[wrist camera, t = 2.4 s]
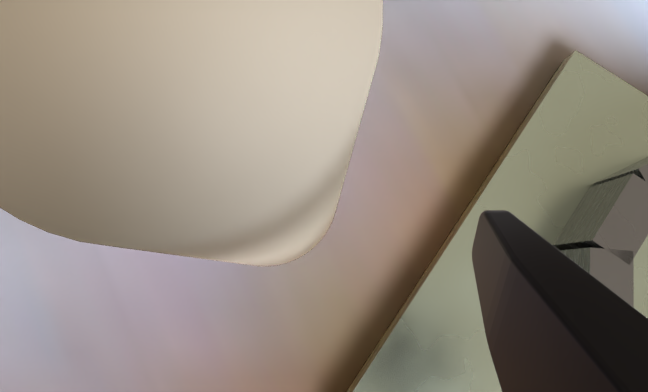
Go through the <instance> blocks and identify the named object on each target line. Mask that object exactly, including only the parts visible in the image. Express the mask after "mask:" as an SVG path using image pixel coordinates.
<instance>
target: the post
mask: <svg viewBox="0 0 648 392" xmlns="http://www.w3.org/2000/svg"><path fill="white" fill-rule="evenodd" d="M382 30H383V0H0V208H2V209H3V210H5V211H6V212H8V213H10V214H11V215H13V216H14V217H16V218H18V219H19V220H22V221H24V222H26V223H28V224H31V225H33V226H35V227H37V228H40V229H42V230H44V231H46V232H49V233H52V234H55V235H59V236H62V237H66V238H69V239H73V240H76V241H80V242H86V243H93V244H99V245H106V246H113V247H120V248H128V249H135V250H142V251H150V252H157V253H164V254H172V255H179V256H187V257H194V258H201V259H209V260H216V261H223V262H231V263H238V264H246V265H253V266H276V265H281V264H285V263H288V262H291V261H293V260H296V259H298V258H299V257H301V256H303V255H305V254H306V253H307V252H309V251H310V250H312V249H313V248H314V247H315V246H316V245H317V244H318V243H319V242H320V241H321V239H322V238H323V237H324V236H325V234H326V232H327V231H328V229H329V227H330V225H331V223H332V221H333V219H334V215H335V212H336V208H337V205H338V201H339V198H340V194H341V190H342V187H343V183H344V180H345V176H346V172H347V169H348V165H349V162H350V158H351V155H352V151H353V147H354V144H355V140H356V137H357V133H358V129H359V126H360V122H361V119H362V115H363V112H364V108H365V104H366V101H367V97H368V94H369V90H370V87H371V83H372V79H373V76H374V72H375V69H376V65H377V61H378V58H379V51H380V44H381V37H382Z"/></svg>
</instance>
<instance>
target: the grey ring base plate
mask: <svg viewBox="0 0 648 392" xmlns="http://www.w3.org/2000/svg"><path fill="white" fill-rule="evenodd" d="M485 210H507V211H509V212H510V213H512V214H513V215H515V216H516V217H517V218H518V219H520V220H521V221H522V222H524V223H525V224H526V225H527V226H529V227H530V228H531V229H533V230H534V231H535V232H537V233H538V234H539V235H540V236H542V237H543V238H544V239H546V240H547V241H548V242H549V243H551V244H552V245H553V246H555V247H556V248H557V249H559V250H560V251H561V252H562V253H564V254H565V255H566V256H568V257H569V258H570V259H572V260H573V261H574V262H575V263H577V264H578V265H579V266H581V267H582V268H583V269H584V270H586V271H587V272H588V273H590V274H591V275H592V276H594V277H595V278H596V279H597V280H599V281H600V282H601V283H603V284H604V285H605V286H606V287H608V288H609V289H610V290H612V291H613V292H614V293H616V294H617V295H618V296H619V297H621V298H622V299H623V300H625V301H626V302H627V303H628V304H630V305H631V306H632V307H634V308H635V309H636V310H638V311H639V312H640V313H641V314H643V315H644V316H645V317H647V318H648V96H647V95H646V94H644V93H642V92H641V91H639V90H638V89H636V88H634V87H633V86H631V85H630V84H628V83H627V82H625V81H623V80H622V79H620V78H619V77H617V76H616V75H614V74H612V73H611V72H609V71H608V70H606V69H604V68H603V67H601V66H600V65H598V64H597V63H595V62H593V61H592V60H590V59H589V58H587V57H585V56H584V55H582V54H581V53H579V52H578V51H576V50H575V51H574V52H573V53H572V54H571V55H569V56H568V57H567V58H566V59H565V60H564V61H563V62H562V63H561V65H560V66H559V68H558V69H557V71H556V72H555V74H554V75H553V77H552V78H551V80H550V81H549V83H548V84H547V86H546V87H545V89H544V90H543V92H542V94H541V95H540V97H539V98H538V100H537V101H536V103H535V104H534V106H533V107H532V109H531V110H530V112H529V113H528V115H527V116H526V118H525V120H524V121H523V123H522V124H521V126H520V127H519V129H518V130H517V132H516V133H515V135H514V136H513V138H512V139H511V141H510V142H509V144H508V146H507V147H506V149H505V150H504V152H503V153H502V155H501V156H500V158H499V159H498V161H497V162H496V164H495V165H494V167H493V168H492V170H491V171H490V173H489V175H488V176H487V178H486V179H485V181H484V182H483V184H482V185H481V187H480V188H479V190H478V191H477V193H476V194H475V196H474V197H473V199H472V201H471V202H470V204H469V205H468V207H467V208H466V210H465V211H464V213H463V214H462V216H461V217H460V219H459V220H458V222H457V223H456V225H455V227H454V228H453V230H452V231H451V233H450V234H449V236H448V237H447V239H446V240H445V242H444V243H443V245H442V246H441V248H440V249H439V251H438V253H437V254H436V256H435V257H434V259H433V260H432V262H431V263H430V265H429V266H428V268H427V269H426V271H425V272H424V274H423V275H422V277H421V278H420V280H419V282H418V283H417V285H416V286H415V288H414V289H413V291H412V292H411V294H410V295H409V297H408V298H407V300H406V301H405V303H404V304H403V306H402V308H401V309H400V311H399V312H398V314H397V315H396V317H395V318H394V320H393V321H392V323H391V324H390V326H389V327H388V329H387V330H386V332H385V334H384V335H383V337H382V338H381V340H380V341H379V343H378V344H377V346H376V347H375V349H374V350H373V352H372V353H371V355H370V356H369V358H368V359H367V361H366V363H365V364H364V366H363V367H362V369H361V370H360V372H359V373H358V375H357V376H356V378H355V379H354V381H353V382H352V384H351V385H350V387H349V389H348V390H347V392H502V390H501V386H500V383H499V380H498V377H497V373H496V370H495V367H494V364H493V361H492V357H491V354H490V350H489V347H488V343H487V339H486V334H485V329H484V323H483V318H482V312H481V307H480V301H479V296H478V290H477V285H476V279H475V273H474V268H473V262H472V247H473V242H474V238H475V233H476V229H477V225H478V220H479V217H480V215H481V213H482V212H483V211H485Z"/></svg>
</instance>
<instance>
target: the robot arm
mask: <svg viewBox="0 0 648 392" xmlns="http://www.w3.org/2000/svg"><path fill="white" fill-rule="evenodd" d="M472 262H473V268H474V273H475V279H476V285H477V290H478V296H479V301H480V307H481V312H482V318H483V323H484V329H485V334H486V339H487V343H488V347H489V350H490V354H491V357H492V361H493V364H494V367H495V370H496V373H497V377H498V380H499V383H500V386H501V390H502V392H648V318H647V317H645V316H644V315H643V314H641V313H640V312H639V311H638V310H636V309H635V308H634V307H632V306H631V305H630V304H628V303H627V302H626V301H625V300H623V299H622V298H621V297H619V296H618V295H617V294H616V293H614V292H613V291H612V290H610V289H609V288H608V287H606V286H605V285H604V284H603V283H601V282H600V281H599V280H597V279H596V278H595V277H594V276H592V275H591V274H590V273H588V272H587V271H586V270H584V269H583V268H582V267H581V266H579V265H578V264H577V263H575V262H574V261H573V260H572V259H570V258H569V257H568V256H566V255H565V254H564V253H562V252H561V251H560V250H559V249H557V248H556V247H555V246H553V245H552V244H551V243H549V242H548V241H547V240H546V239H544V238H543V237H542V236H540V235H539V234H538V233H537V232H535V231H534V230H533V229H531V228H530V227H529V226H527V225H526V224H525V223H524V222H522V221H521V220H520V219H518V218H517V217H516V216H515V215H513V214H512V213H510V212H509V211H507V210H485V211H483V212H482V213H481V215H480V217H479V220H478V225H477V229H476V233H475V238H474V242H473V247H472Z"/></svg>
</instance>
